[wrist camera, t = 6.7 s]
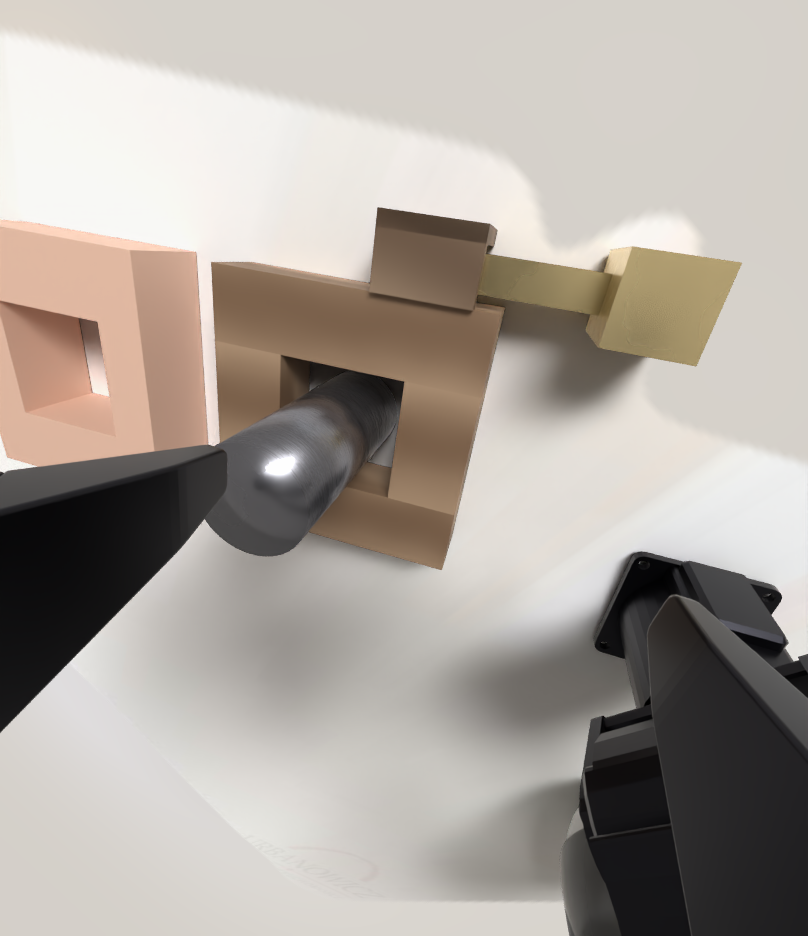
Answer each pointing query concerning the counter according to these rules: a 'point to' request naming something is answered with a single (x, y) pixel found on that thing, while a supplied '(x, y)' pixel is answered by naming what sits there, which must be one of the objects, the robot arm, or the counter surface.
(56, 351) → the block
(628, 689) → the counter surface
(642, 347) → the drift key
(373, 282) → the socket block
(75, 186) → the counter surface
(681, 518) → the counter surface
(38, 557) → the robot arm
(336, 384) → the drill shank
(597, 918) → the pump dispenser
